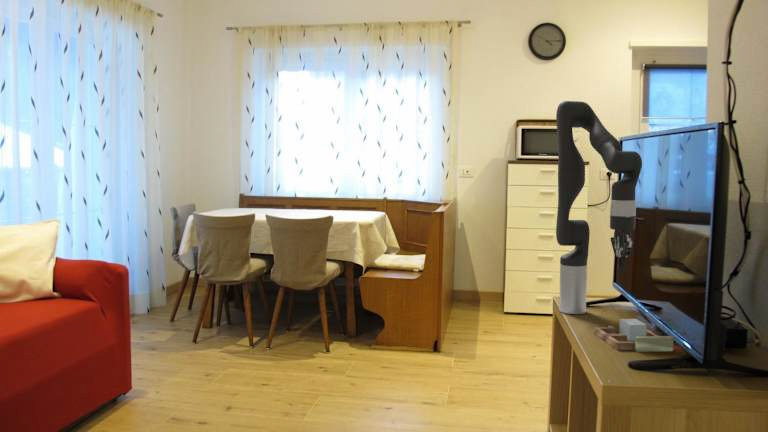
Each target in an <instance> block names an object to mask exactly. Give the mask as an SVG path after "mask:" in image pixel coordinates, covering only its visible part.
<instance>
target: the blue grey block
mask: <svg viewBox="0 0 768 432" xmlns="http://www.w3.org/2000/svg"><path fill="white" fill-rule="evenodd" d="M647 326H648V325H647V324H646V323H644V322H643V321H641V320H639V319H637V318H620V319H619V334H625V335H627V341H628V342H635V337H644V336H646V329H647Z"/></svg>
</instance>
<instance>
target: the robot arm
mask: <svg viewBox="0 0 768 432" xmlns="http://www.w3.org/2000/svg"><path fill="white" fill-rule="evenodd" d="M555 113H556V117H555V118H556V119H555V121H556V122H555V123H556V131H557V133H556V134H557V143H558V144H557V145H558V146H557V147H558V148H557V149H558V150H557V151H558V152H557V153H558V158H557V159H558V162H557V163H558V164H557V165H558V166H557V186H558V187H557V194H558V195H557V196H558V197H557V198H558V200H557V214H556V227H555V235H556V236H555V237H556V242H557V244H558V245H559V246H561V247H562V246H563V247H564V246H565V247H566V246H567V247H568V246H573V247H574V248H573V250H571V251H570V252H567V253H565V254H562V255H561V256H560V259H559V261H560V262H559V301H558V303H559V305H558V308H559V309H558V311H559V312H561V313H564V314H568V315H569V314H570V315H584V314H586V312H587V285H588V284H587V281H588V279H587V278H588V277H587V276H588V259H589V248H590V246H589V245H590V225H589V223H588V221H586V219H585V220H584V219H570V213H571V209H572V207H573V204H574V202H575V200H576V199H577V197H578V196H579V194H580V193H581V191H582V189H583V188H584V186H585V183H586V164H585V160H584V159H583V157H582V155H581V153H580V151H579V149H578V148H577V146H576V144H575V139H574V135H573V134H574V133H573V128H576V129H579V128H581V129H584V130H585V131H586V132H588V133H589V135H588V136H589V137H588V139H589V142H590V145H591V147H592V148H593V149H594V150H595V151H596V152H597V153H598V154H599V155H600V156H601V158H602V161H603V164H604V165H605V168H606V169H607V170H608V171H609V172H611V173H612V174H617V175H618V174H623V175H622V178H621V179H619V180H617V181H614V182H612V184H611V197H610V198H611V201H610V208H609V212H610V213H609V228H610V230H614V231H613V237H610V243H611V246H612V250H613V253H614V254H615V256H616V259H617V261H616V262H617V263H616V269H620V270H625V269H626V268H627V258H628V257H630V256H631V254H632V251H633V250H634V249H633V248H634V247H635V241H632V234H631V231H634V230H636V223H637V221H636V216H637V208H636V207H637V205H636V187H637V184H638V181H639V177H640V174H641V173H642V172H641V171H642V167H643V161H642V160H643V159H642V157H641V155H640V154H639V153H638V152H637V151H633V150H631V151H629V150H623V151H622V149H623V147H622V144H621V142H620V141H619V140H618V139H617V138H616V137H615V136H614V135H613V134H612V133H611V132H610V131H608V129H607V128H606V127H605V126H604V125H603V123H602V122H601V120H600V119H599V117H598V116H597V114H596V113H595V111H594V110H593V108H592V107H591V106H590V105H589V104H588V103H587V102H585V101H578V100H577V101H575V100H572V101H571V100H564V101H563V100H562V101H561V102H559V104H558V106H557V109H556V112H555Z"/></svg>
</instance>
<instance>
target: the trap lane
mask: <svg viewBox="0 0 768 432" xmlns="http://www.w3.org/2000/svg"><path fill="white" fill-rule="evenodd" d="M616 330H617V328H616V327H614V326H612V325H608V326H607V327H594V335H595V336H597V337H598V338H600V339H601V340H602V341H603V342H605V343H606V344H608V345H609V346H610V347H611V348H613V349H615V350H616V351H625V350H626V351H627V350H628V351H629V350H630V351H631V350H632V351H634V352H638V353H639V352H646V353H647V352H674V337H673V336H672V335H662V336H661V335H658V334H656V333H654V332H653V331H652V330H649V329H647V328H646V336H644V337H635V341H628V339H627V335H625V334H620V333H617V331H616ZM671 336H672V337H673V338H672V337H671Z"/></svg>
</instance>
